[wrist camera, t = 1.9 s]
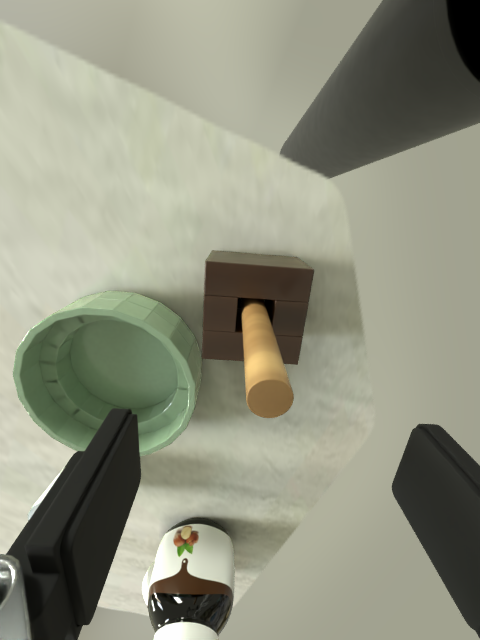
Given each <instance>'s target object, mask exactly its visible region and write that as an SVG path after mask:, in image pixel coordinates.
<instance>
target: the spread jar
mask: <svg viewBox="0 0 480 640" xmlns="http://www.w3.org/2000/svg"><path fill="white" fill-rule="evenodd" d="M142 592H143V597H144V600H145V602H146V604H147V606H148V611H149V617H150V620H151V624H152V626H153V628H154V630H155V636H154V640H218V635H219V634H220V633H221V632H222V630H223V629H224V627H225V625H226V624H227V621H228V619H229V616H230V614H231V610H232V605H233V598H234V550H233V545H232V541H231V538H230V536H229V534H228V533H227V532H226V530H225V529H224V528H223V527H221V526H220V525H219V524H217V523H215V522H213V521H211V520H208V519H204V518H192V519H188V520H185V521H182V522H180V523H178V524H176V525H175V526H173V527H172V528H171V529H170V530H168V532H167V533H166V534H165V535H164V537H163V539H162V541H161V543H160V546H159V549H158V552H157V555H156V559H155V561H154V562H153V563H152V564H151V566H150V567H149V569H148V571H147V573H146V575H145V577H144V580H143V584H142Z"/></svg>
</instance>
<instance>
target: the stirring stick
mask: <svg viewBox="0 0 480 640" xmlns="http://www.w3.org/2000/svg"><path fill="white" fill-rule="evenodd" d="M241 313H242V331H243V349H244V367H245V385H246V401H247V405H248V407H249V409H250V410H251V411H252V412H253V413H254V414H256V415H258V416H260V417H264V418H274V417H278V416H280V415H282V414H284V413H285V412H287V411H288V410H289V408H290V407H291V405H292V403H293V399H294V395H293V391H292V388H291V385H290V381H289V378H288V375H287V372H286V369H285V366H284V363H283V359H282V356H281V353H280V350H279V347H278V344H277V341H276V338H275V334H274V331H273V328H272V325H271V322H270V319H269V316H268V312H267V309H266V306H265V303H264V300H263V299H255V298H241Z"/></svg>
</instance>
